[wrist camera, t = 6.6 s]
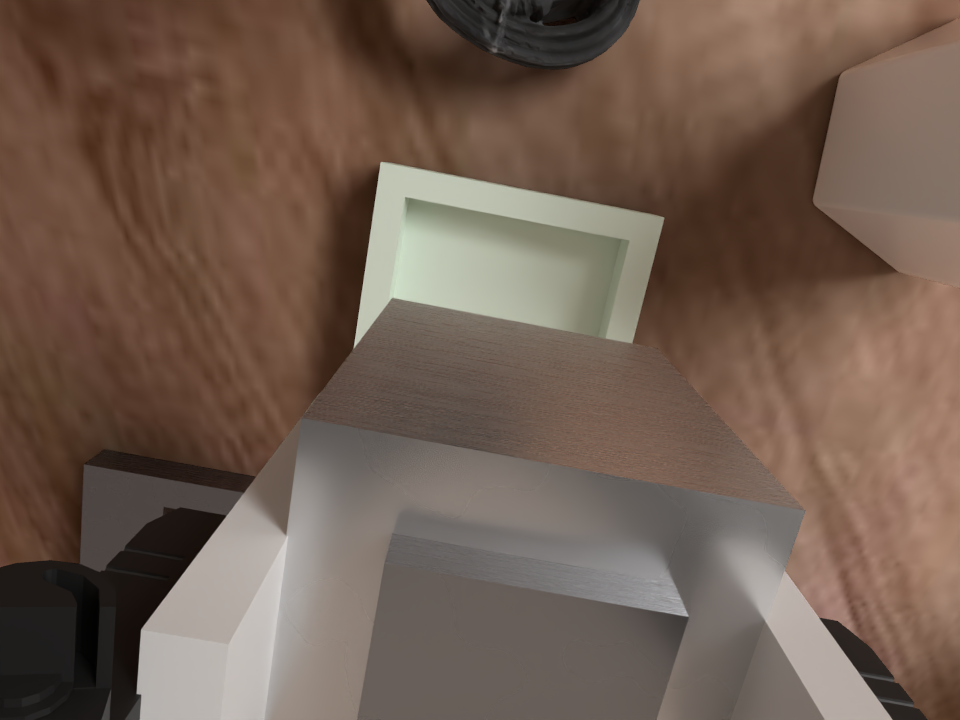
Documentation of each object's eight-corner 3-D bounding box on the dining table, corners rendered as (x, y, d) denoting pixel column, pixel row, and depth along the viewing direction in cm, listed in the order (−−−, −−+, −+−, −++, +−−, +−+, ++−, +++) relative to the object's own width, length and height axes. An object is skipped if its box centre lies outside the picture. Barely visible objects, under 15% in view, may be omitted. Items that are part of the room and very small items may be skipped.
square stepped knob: (353, 537, 16) (232, 865, 8) (392, 297, 14) (285, 439, 7) (594, 580, 16) (685, 939, 8) (657, 348, 14) (831, 539, 7)
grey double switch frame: (95, 631, 32) (76, 653, 30) (104, 449, 29) (83, 464, 28) (613, 719, 32) (619, 745, 31) (663, 549, 30) (672, 569, 29)
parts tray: (351, 412, 29) (341, 430, 27) (389, 162, 26) (380, 161, 24) (591, 455, 29) (597, 476, 27) (652, 213, 26) (664, 217, 24)
